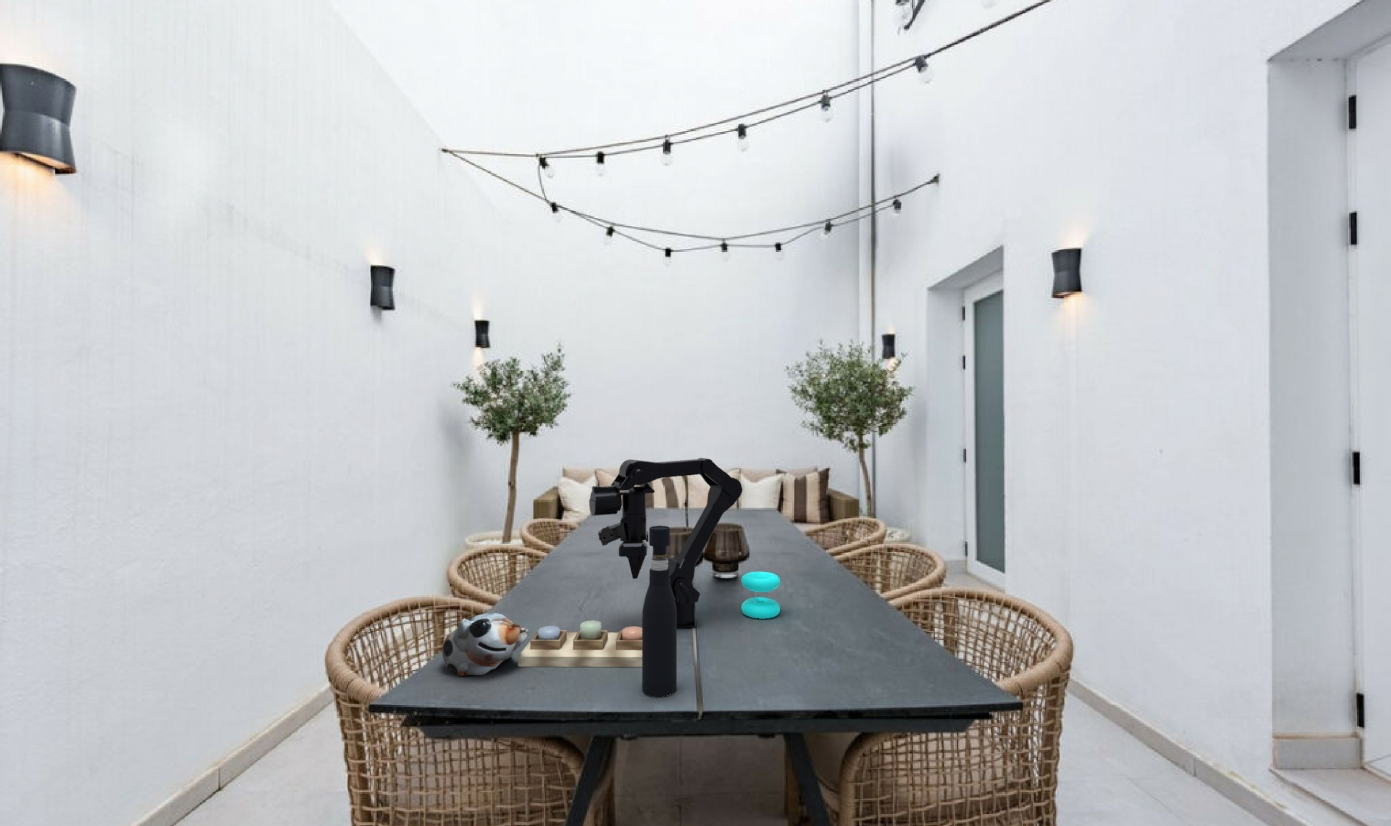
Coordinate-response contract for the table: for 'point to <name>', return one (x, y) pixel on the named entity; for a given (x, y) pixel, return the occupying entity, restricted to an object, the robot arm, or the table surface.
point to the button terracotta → (632, 633)
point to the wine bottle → (659, 622)
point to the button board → (582, 651)
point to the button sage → (590, 629)
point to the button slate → (549, 633)
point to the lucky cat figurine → (481, 644)
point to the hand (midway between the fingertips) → (635, 578)
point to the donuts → (760, 605)
